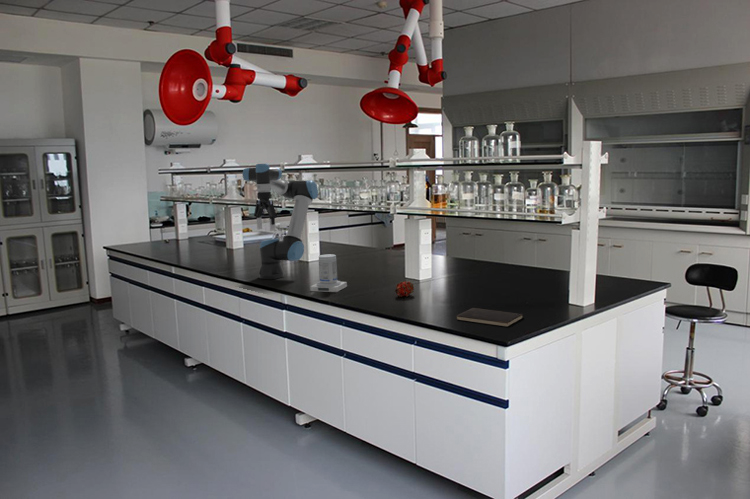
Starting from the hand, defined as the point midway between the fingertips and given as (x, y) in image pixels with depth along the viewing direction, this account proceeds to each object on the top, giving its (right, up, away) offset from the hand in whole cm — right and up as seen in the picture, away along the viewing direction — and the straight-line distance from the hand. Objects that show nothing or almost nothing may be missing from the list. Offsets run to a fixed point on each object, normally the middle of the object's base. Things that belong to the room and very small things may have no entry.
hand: (266, 229), depth 330 cm
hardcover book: (+109, -41, -82) cm, 142 cm away
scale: (+36, -32, -9) cm, 49 cm away
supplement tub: (+36, -29, -10) cm, 47 cm away
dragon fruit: (+76, -35, -34) cm, 90 cm away
